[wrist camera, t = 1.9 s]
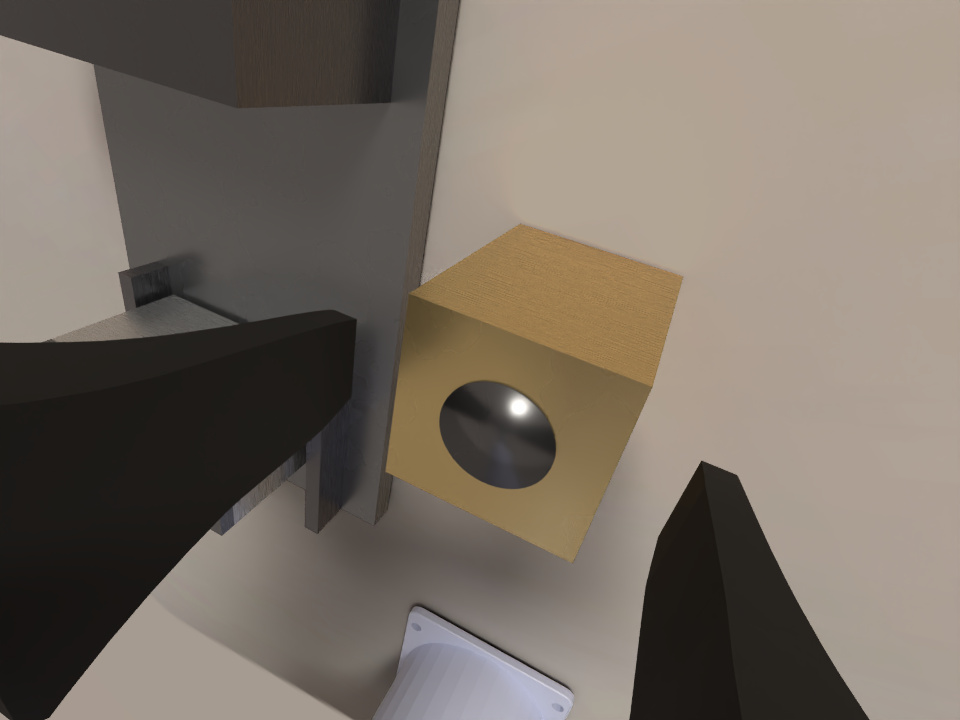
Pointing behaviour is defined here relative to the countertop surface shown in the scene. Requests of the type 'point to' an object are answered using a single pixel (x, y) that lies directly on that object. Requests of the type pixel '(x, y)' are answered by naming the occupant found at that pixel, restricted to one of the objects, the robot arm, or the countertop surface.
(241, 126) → the press bed
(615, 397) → the housing
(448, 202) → the countertop surface
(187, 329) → the block
